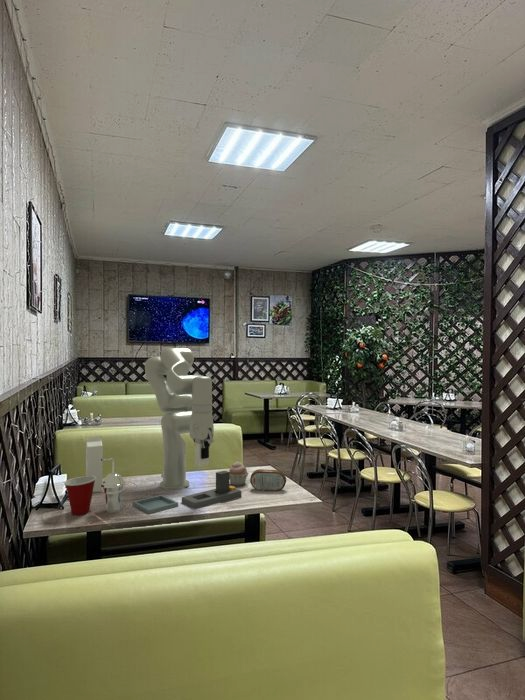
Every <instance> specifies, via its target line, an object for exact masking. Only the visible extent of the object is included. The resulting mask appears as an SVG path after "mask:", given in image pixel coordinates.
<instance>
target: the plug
mask: <svg viewBox="0 0 525 700" xmlns="http://www.w3.org/2000/svg"><path fill="white" fill-rule="evenodd" d="M206 439H207V438H206ZM206 442H207V441H205V443H206ZM201 448H202V440H197V439H195V443H194V466H195V467H199V468H200V467H205V466H210V457H209V458H205V459H201Z"/></svg>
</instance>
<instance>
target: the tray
mask: <svg viewBox="0 0 525 700" xmlns="http://www.w3.org/2000/svg"><path fill="white" fill-rule="evenodd" d="M132 506H133V507H136V508H137V509H138V510H139V509H140V510H141V511H142V512H144V513H146V514H147V515H150V514H155V513H158V512H163V511H165V510H166V511H167V510H169V509H173V508H176V507H179V502H178V501H176V500H173V499H171V498H169V497H167V496H165V495H164V494H160V495H156V496H152V497H151V496H150V497H147V498H143V499H139V500H135V501H133V502H132Z"/></svg>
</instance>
